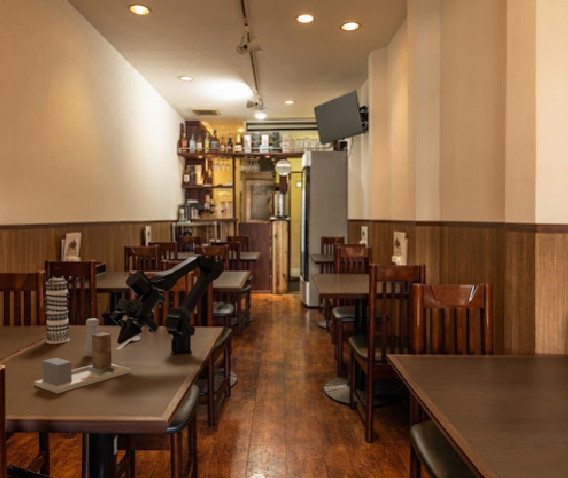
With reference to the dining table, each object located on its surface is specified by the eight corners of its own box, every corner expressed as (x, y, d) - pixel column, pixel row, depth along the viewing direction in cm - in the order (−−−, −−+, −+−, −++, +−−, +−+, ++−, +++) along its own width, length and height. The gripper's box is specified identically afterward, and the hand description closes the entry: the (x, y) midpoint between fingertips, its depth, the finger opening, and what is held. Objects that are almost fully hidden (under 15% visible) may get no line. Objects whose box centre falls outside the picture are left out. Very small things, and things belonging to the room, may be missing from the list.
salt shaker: (95, 358, 175) (94, 320, 175) (80, 357, 176) (79, 320, 176) (104, 353, 181) (104, 317, 180) (90, 353, 182) (89, 317, 182)
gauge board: (107, 366, 165) (107, 344, 165) (130, 372, 158) (130, 349, 157) (34, 385, 146) (34, 360, 145) (57, 393, 138) (56, 367, 138)
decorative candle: (73, 341, 200) (71, 278, 199) (47, 345, 195) (45, 280, 194) (68, 337, 207) (66, 276, 207) (43, 340, 202) (42, 278, 201)
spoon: (142, 339, 204) (142, 335, 204) (118, 353, 184) (118, 348, 183) (133, 339, 205) (133, 335, 205) (107, 352, 184) (107, 348, 184)
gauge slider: (103, 365, 160) (102, 331, 160) (120, 370, 155) (119, 335, 155) (89, 369, 156) (88, 334, 156) (106, 374, 151) (105, 338, 151)
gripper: (114, 287, 171) (85, 325, 162) (150, 291, 159) (120, 332, 151) (134, 307, 177) (107, 344, 168) (169, 312, 166) (142, 352, 157)
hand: (118, 343), depth 161 cm, fingers closed
